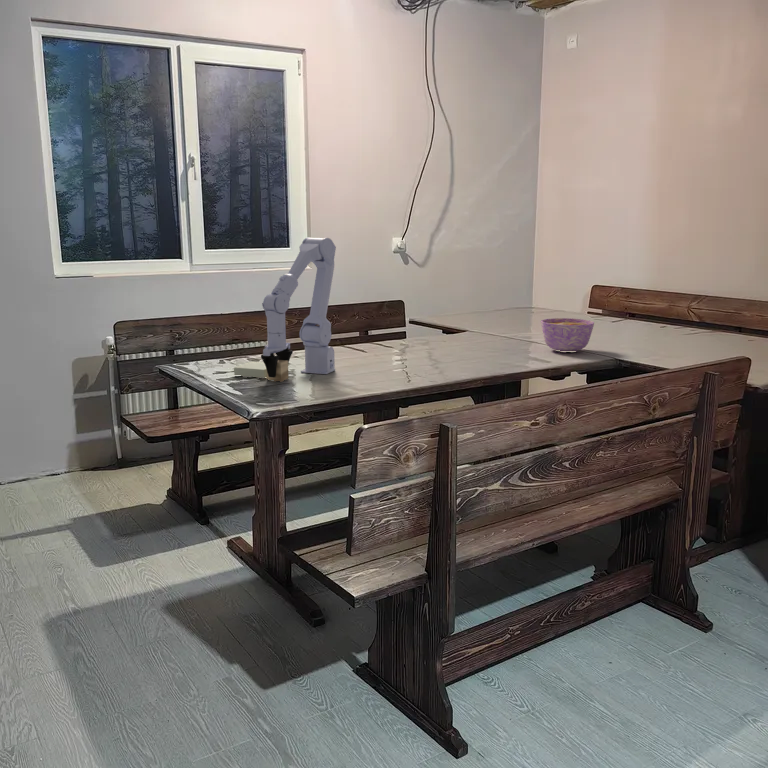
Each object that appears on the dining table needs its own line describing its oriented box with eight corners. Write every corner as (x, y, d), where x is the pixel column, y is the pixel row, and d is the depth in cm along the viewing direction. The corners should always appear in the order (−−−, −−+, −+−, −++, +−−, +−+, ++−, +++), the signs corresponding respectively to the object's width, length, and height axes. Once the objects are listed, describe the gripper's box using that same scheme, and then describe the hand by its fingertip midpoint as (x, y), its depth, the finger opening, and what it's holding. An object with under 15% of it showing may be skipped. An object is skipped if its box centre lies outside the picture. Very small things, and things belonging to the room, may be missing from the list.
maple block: (288, 378, 246) (288, 360, 245) (281, 382, 242) (280, 363, 240) (274, 377, 248) (274, 359, 247) (267, 380, 243) (266, 362, 242)
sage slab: (280, 372, 256) (280, 363, 255) (264, 378, 246) (264, 369, 245) (251, 370, 260) (250, 361, 259) (234, 376, 250) (234, 367, 249)
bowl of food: (588, 347, 305) (590, 318, 303) (596, 356, 286) (598, 325, 284) (537, 346, 307) (538, 317, 305) (542, 355, 288) (543, 324, 285)
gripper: (275, 328, 250) (277, 369, 253) (253, 334, 236) (255, 378, 239) (295, 329, 247) (296, 371, 250) (274, 336, 234) (275, 379, 237)
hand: (277, 374), depth 245 cm, fingers open, 7 cm apart
